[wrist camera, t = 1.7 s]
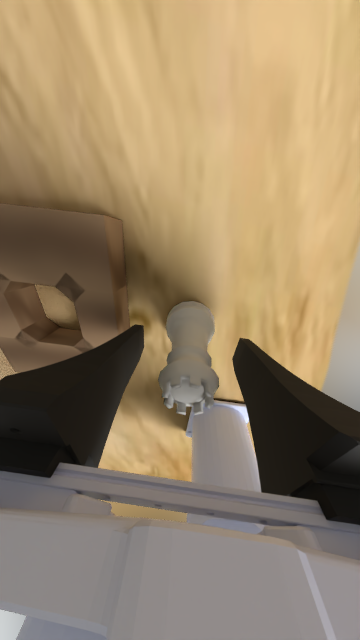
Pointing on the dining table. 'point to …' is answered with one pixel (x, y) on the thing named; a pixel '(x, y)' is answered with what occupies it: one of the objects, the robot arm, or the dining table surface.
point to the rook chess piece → (189, 359)
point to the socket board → (59, 282)
